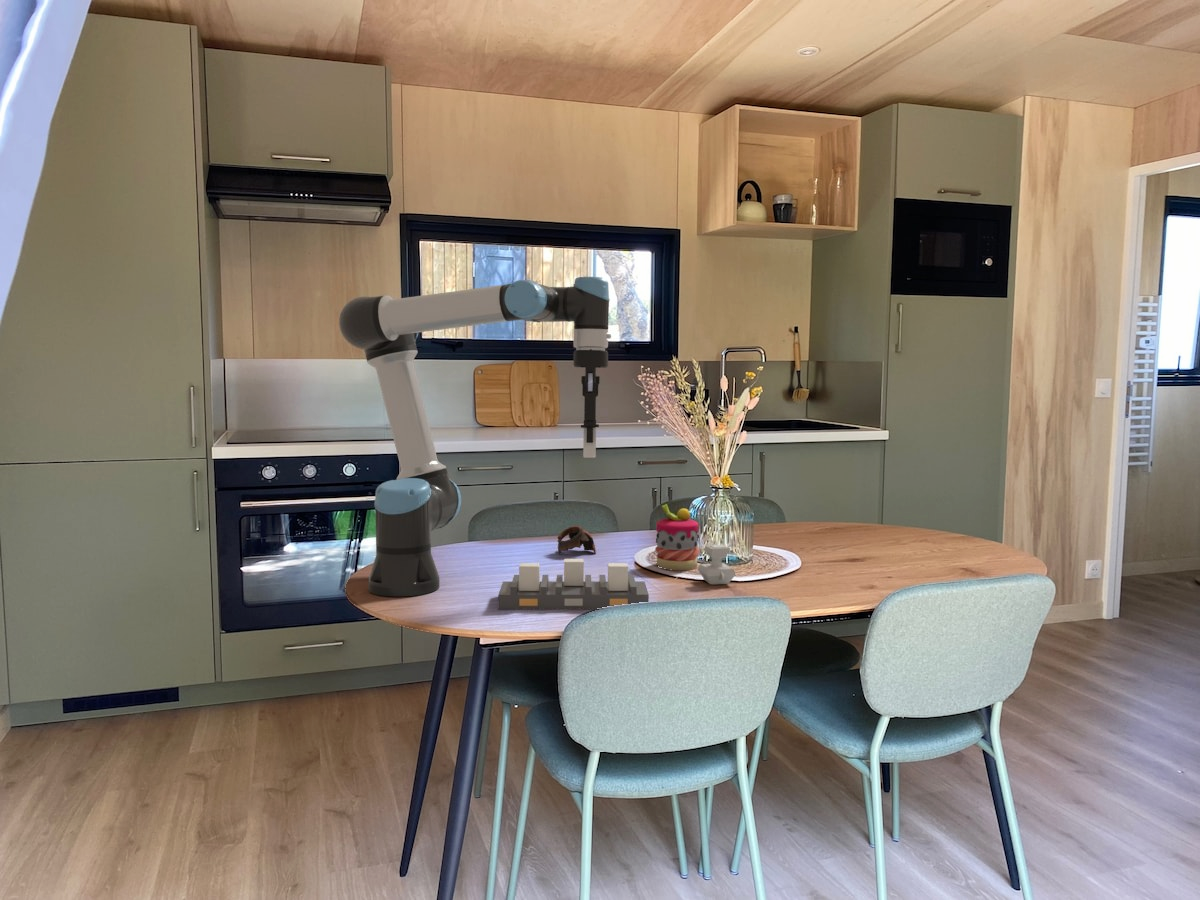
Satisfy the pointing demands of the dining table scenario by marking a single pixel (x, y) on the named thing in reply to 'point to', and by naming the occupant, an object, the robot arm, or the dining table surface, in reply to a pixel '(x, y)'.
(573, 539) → the brown broken ring
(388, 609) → the dining table surface
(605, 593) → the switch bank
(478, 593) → the dining table surface
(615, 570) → the tab right
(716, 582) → the grey angular blocky piece
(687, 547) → the cake
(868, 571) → the dining table surface
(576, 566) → the tab middle
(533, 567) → the tab left
